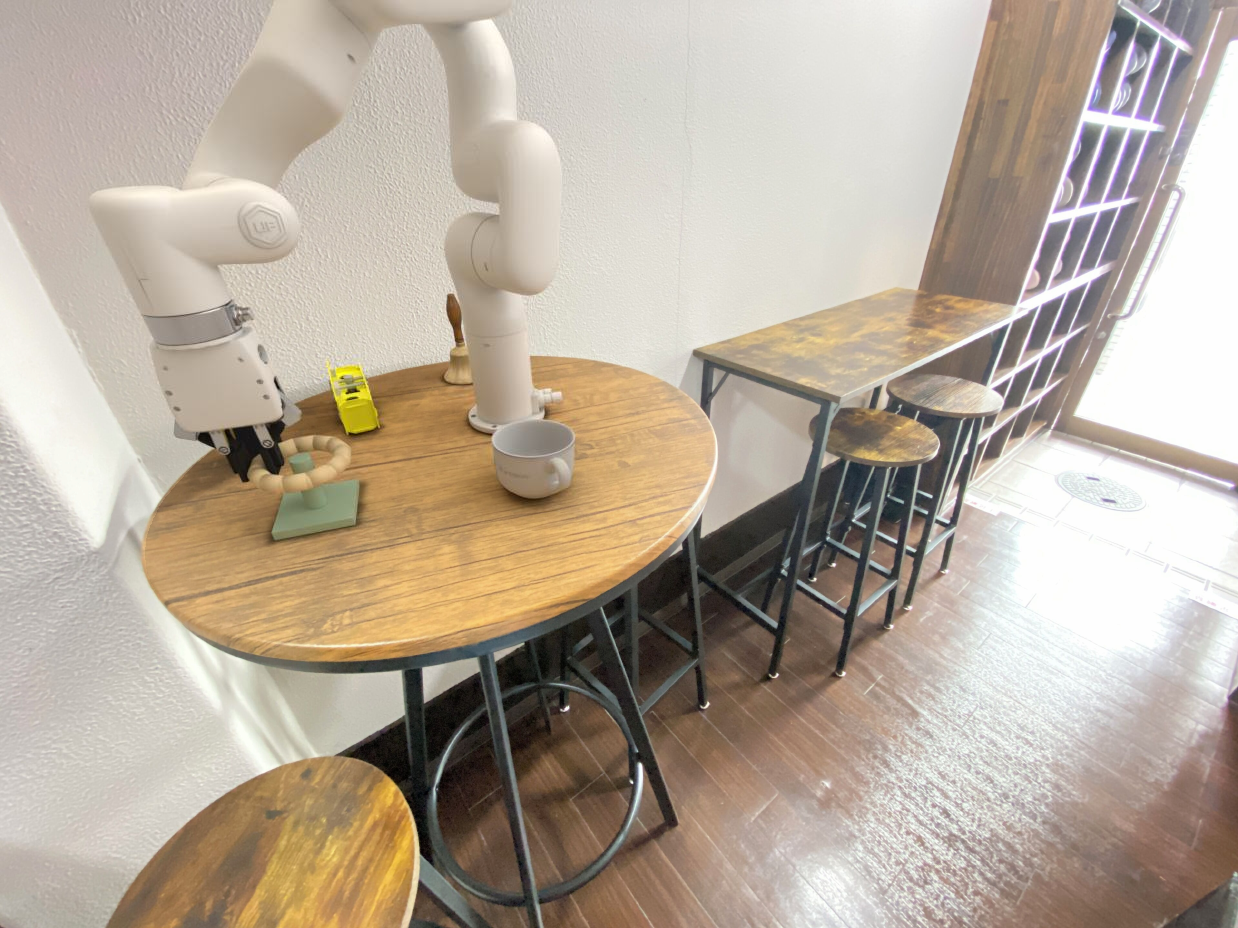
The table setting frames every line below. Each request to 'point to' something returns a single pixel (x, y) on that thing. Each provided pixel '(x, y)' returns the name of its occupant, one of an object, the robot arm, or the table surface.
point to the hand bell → (457, 347)
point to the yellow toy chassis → (352, 398)
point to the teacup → (534, 457)
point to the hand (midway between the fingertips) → (262, 472)
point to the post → (315, 505)
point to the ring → (310, 478)
